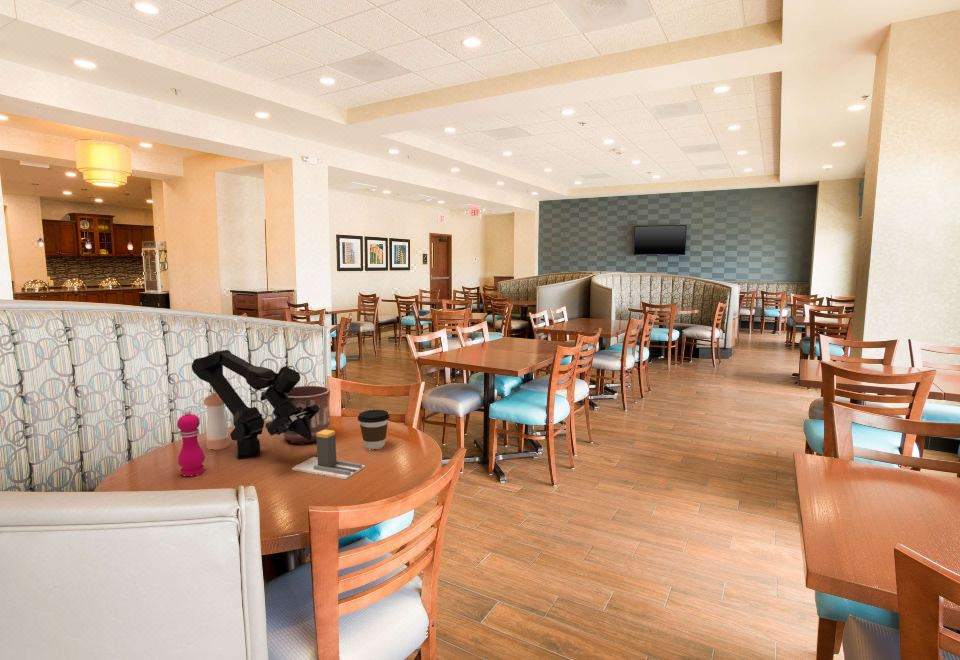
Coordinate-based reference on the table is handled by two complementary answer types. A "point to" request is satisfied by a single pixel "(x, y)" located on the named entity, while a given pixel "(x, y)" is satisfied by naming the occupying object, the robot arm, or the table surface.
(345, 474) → the plate
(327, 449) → the fader knob
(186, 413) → the pepper mill
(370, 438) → the coffee cup
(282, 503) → the table surface
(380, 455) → the table surface
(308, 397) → the pottery
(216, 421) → the pepper shaker
